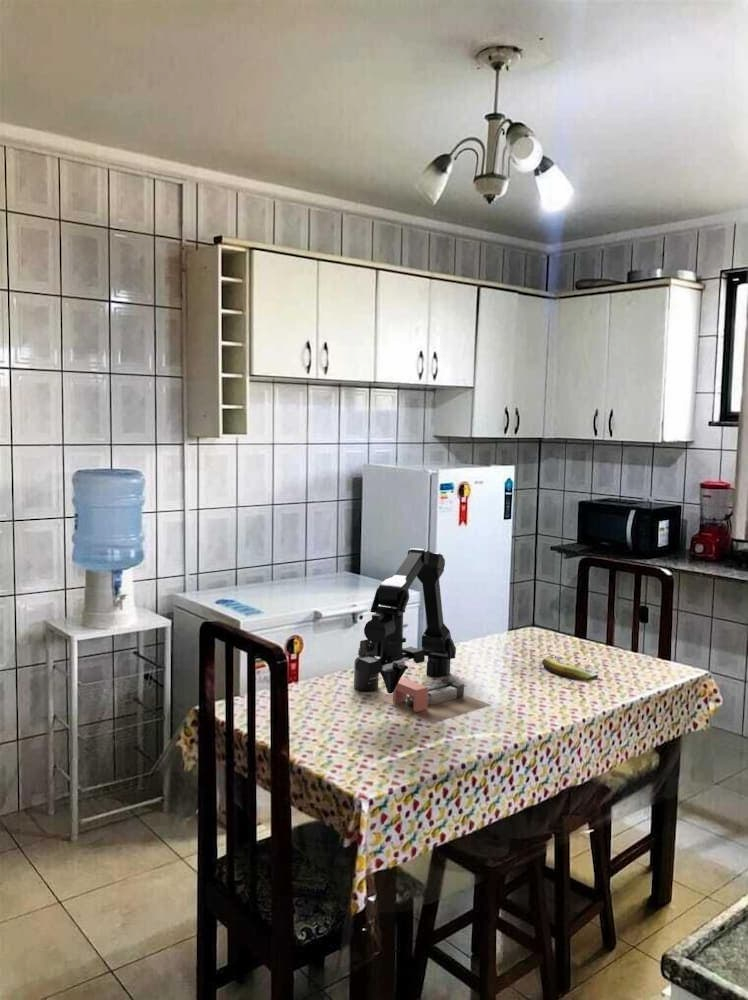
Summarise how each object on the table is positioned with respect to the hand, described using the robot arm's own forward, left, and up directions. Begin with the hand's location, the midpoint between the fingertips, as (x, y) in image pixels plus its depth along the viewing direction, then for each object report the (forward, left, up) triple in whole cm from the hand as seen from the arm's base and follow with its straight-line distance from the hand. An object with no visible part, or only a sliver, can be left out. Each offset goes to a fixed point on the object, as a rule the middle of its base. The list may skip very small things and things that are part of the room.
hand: (390, 693), depth 212 cm
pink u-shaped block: (-7, 0, -5) cm, 8 cm away
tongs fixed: (-15, -1, -5) cm, 16 cm away
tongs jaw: (-16, +2, -5) cm, 16 cm away
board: (-14, +1, -6) cm, 16 cm away
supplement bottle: (-7, -18, -6) cm, 20 cm away
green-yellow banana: (-65, +6, -7) cm, 65 cm away
